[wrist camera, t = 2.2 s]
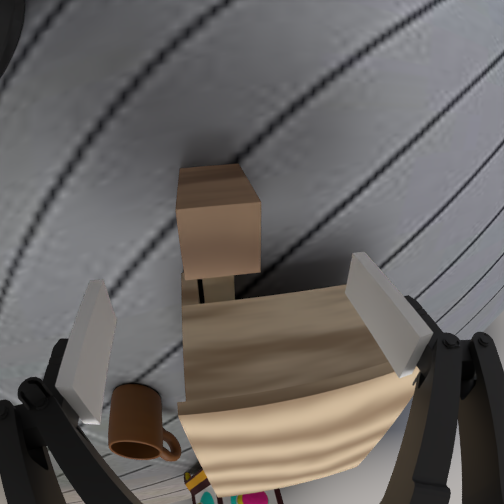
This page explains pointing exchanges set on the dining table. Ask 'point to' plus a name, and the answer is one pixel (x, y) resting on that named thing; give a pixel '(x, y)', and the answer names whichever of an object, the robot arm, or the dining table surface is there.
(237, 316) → the cabinet
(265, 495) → the decorative lantern
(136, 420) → the mug
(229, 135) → the dining table surface
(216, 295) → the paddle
